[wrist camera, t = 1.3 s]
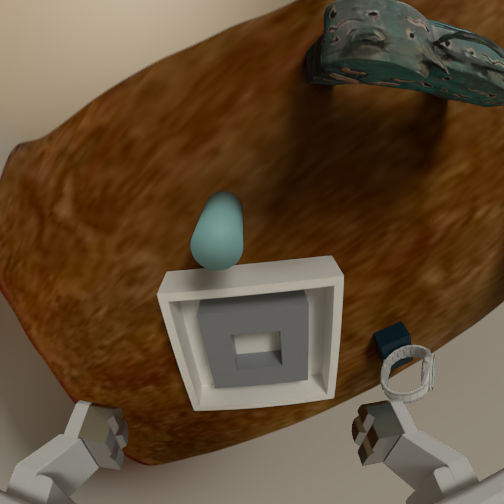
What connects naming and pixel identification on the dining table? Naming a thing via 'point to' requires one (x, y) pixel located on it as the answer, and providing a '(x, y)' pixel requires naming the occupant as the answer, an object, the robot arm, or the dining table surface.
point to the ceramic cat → (405, 53)
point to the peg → (219, 232)
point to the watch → (403, 361)
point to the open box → (256, 332)
